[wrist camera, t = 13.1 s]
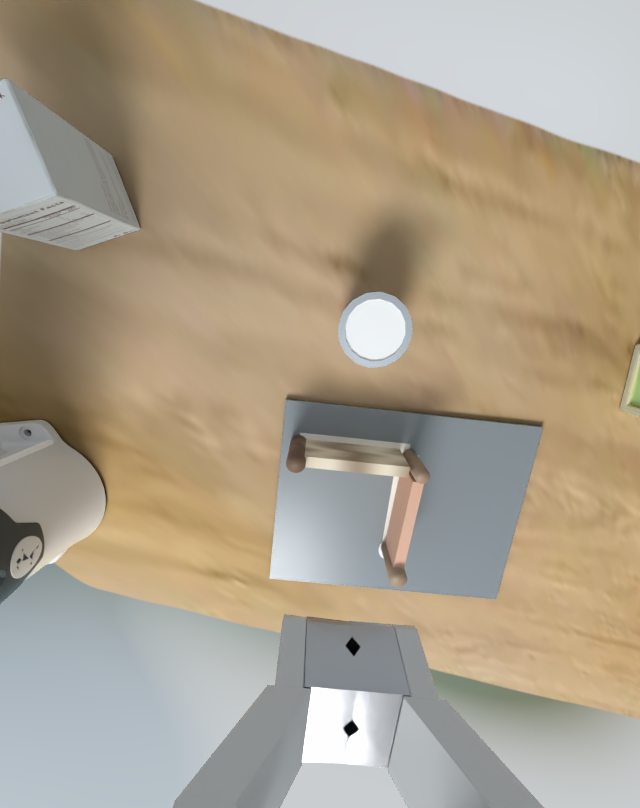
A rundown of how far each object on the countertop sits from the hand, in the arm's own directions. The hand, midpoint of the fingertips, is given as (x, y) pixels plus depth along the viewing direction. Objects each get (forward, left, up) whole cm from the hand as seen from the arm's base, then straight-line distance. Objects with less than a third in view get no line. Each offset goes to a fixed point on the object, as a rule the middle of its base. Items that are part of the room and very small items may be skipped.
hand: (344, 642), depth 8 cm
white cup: (+4, +6, -34) cm, 35 cm away
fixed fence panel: (+3, -8, -34) cm, 35 cm away
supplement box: (-25, +15, -34) cm, 45 cm away
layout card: (+11, -15, -34) cm, 39 cm away
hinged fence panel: (+11, -14, -33) cm, 38 cm away
